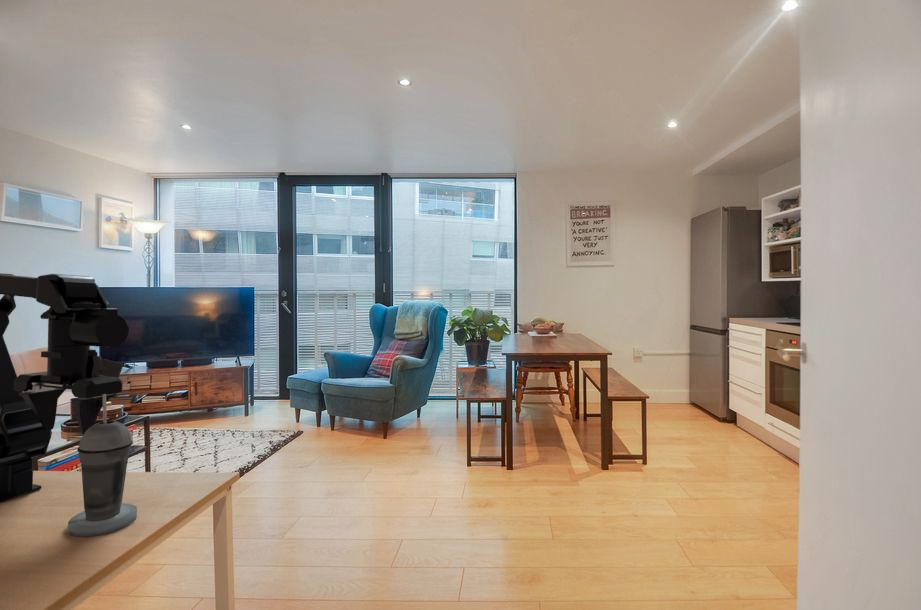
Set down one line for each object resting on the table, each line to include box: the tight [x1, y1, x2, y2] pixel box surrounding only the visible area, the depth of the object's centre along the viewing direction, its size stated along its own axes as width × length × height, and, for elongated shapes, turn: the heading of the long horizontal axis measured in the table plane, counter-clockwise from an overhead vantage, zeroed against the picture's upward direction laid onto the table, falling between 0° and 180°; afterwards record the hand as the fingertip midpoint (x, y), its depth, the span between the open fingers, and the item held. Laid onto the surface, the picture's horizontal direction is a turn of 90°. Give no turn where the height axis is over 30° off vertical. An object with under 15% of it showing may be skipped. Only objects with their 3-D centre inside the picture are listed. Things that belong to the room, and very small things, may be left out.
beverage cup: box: [77, 394, 134, 522], centre depth 75 cm, size 7×7×20 cm
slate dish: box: [67, 502, 138, 538], centre depth 75 cm, size 9×9×1 cm
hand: (67, 432), depth 80 cm, fingers open, 9 cm apart
